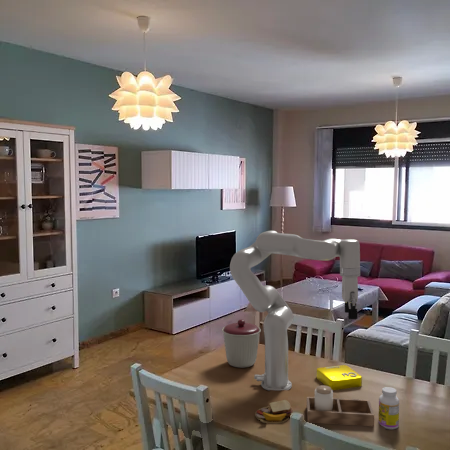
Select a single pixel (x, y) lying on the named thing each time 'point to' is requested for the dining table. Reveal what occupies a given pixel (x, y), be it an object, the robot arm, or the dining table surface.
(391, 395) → the supplement bottle
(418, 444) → the dining table surface
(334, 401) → the crate
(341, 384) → the element tile
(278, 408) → the toy sandwich meal
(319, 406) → the jar
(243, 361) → the canister
